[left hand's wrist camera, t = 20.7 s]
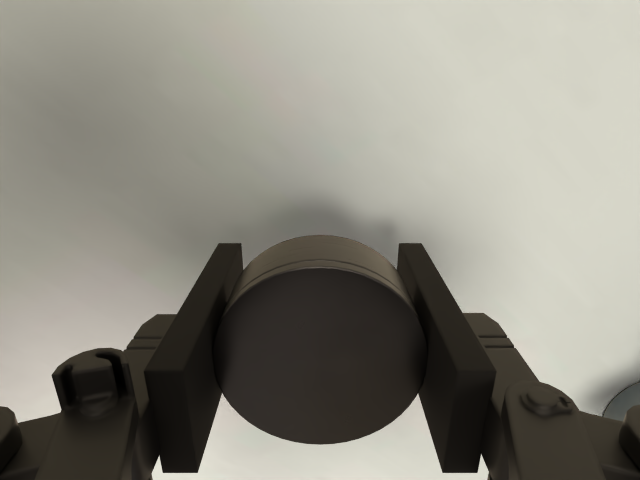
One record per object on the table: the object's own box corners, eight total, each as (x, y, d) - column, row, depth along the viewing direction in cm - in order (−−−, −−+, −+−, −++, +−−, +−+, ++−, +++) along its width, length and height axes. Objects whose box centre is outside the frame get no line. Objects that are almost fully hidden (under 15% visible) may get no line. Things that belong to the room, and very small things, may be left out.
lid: (190, 319, 12) (167, 364, 10) (320, 193, 11) (320, 219, 9) (320, 419, 14) (320, 474, 12) (449, 319, 12) (473, 364, 10)
